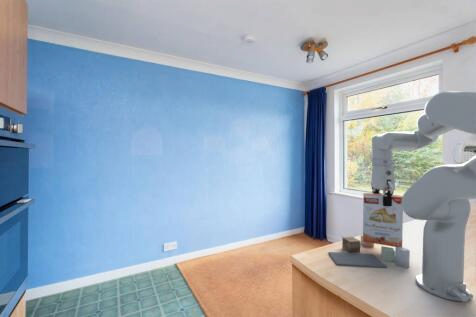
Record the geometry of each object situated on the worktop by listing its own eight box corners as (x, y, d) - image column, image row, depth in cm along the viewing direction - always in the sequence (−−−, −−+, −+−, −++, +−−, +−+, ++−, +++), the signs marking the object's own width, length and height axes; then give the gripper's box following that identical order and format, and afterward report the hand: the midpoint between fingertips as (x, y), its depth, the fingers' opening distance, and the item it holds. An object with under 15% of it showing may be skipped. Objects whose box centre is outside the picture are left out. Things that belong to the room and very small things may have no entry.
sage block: (394, 262, 86) (394, 251, 86) (382, 259, 88) (382, 249, 88) (392, 257, 90) (393, 248, 90) (381, 255, 92) (381, 246, 92)
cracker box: (363, 242, 95) (363, 194, 95) (362, 238, 100) (362, 192, 101) (403, 248, 89) (403, 197, 89) (400, 243, 94) (400, 194, 94)
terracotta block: (373, 246, 101) (374, 238, 100) (364, 246, 101) (364, 237, 101) (369, 243, 105) (369, 235, 104) (360, 242, 105) (360, 234, 105)
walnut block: (360, 252, 95) (360, 241, 95) (349, 253, 94) (349, 241, 94) (352, 247, 100) (352, 236, 100) (342, 248, 99) (342, 237, 99)
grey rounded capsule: (412, 268, 82) (412, 252, 81) (399, 267, 82) (400, 251, 82) (404, 262, 86) (404, 247, 86) (392, 261, 86) (392, 246, 86)
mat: (386, 267, 82) (386, 266, 82) (336, 265, 83) (336, 263, 83) (373, 255, 92) (373, 254, 92) (328, 253, 93) (328, 251, 93)
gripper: (404, 163, 86) (404, 208, 86) (380, 162, 103) (379, 200, 103) (384, 163, 86) (383, 208, 86) (363, 162, 104) (363, 200, 104)
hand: (381, 203), depth 95 cm, fingers closed on cracker box, 7 cm apart
